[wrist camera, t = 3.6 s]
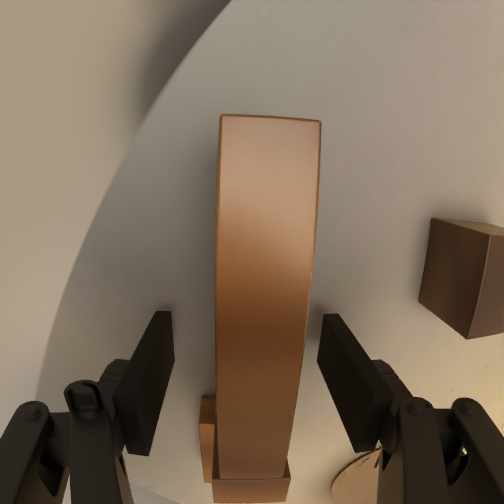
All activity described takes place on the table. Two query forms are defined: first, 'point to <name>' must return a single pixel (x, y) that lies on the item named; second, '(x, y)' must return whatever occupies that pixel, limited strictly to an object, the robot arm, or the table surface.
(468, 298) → the block
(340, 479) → the teacup with lid
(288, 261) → the wooden zigzag step
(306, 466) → the table surface
